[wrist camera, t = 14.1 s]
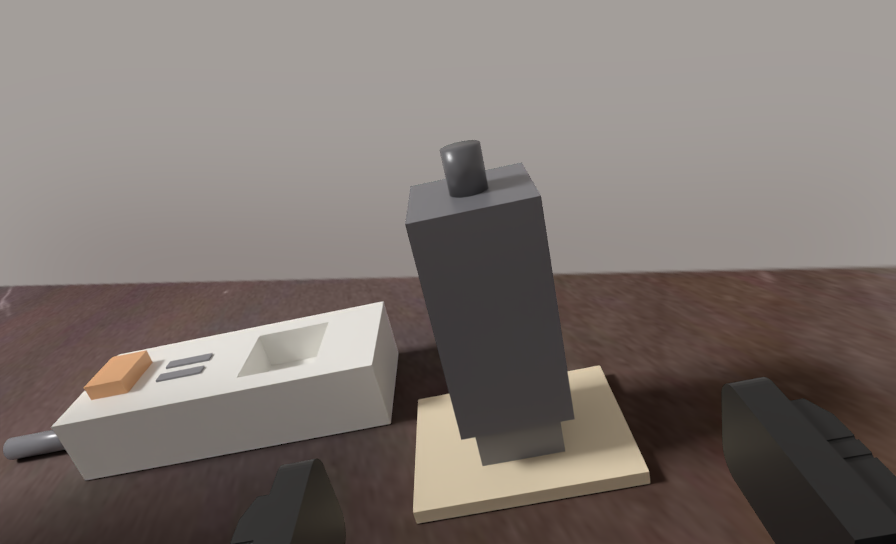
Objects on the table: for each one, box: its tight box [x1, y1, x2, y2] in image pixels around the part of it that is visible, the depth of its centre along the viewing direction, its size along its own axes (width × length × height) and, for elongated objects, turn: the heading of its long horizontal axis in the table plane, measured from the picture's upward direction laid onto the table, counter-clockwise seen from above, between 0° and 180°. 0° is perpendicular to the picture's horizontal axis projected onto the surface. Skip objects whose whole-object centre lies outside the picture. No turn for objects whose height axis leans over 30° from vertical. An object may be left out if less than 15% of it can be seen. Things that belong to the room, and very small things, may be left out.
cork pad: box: [413, 365, 650, 524], centre depth 25 cm, size 9×7×1 cm
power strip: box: [3, 302, 399, 481], centre depth 31 cm, size 22×6×4 cm, turn 91°
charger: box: [405, 140, 575, 466], centre depth 22 cm, size 4×4×12 cm
